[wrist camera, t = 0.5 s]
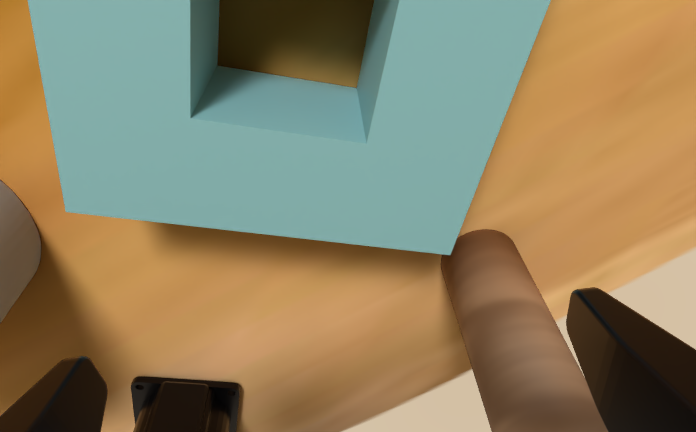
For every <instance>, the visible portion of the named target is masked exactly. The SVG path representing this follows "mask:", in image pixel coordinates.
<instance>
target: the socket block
mask: <svg viewBox="0 0 696 432" xmlns="http://www.w3.org/2000/svg"><path fill="white" fill-rule="evenodd" d="M550 1H551V0H374V4H373V9H372V14H371V19H370V24H369V29H368V34H367V39H366V44H365V49H364V54H363V59H362V64H361V69H360V74H359V79H358V84H357V88H354V87H347V86H341V85H335V84H329V83H323V82H316V81H310V80H304V79H298V78H291V77H285V76H279V75H273V74H267V73H260V72H254V71H248V70H242V69H235V68H229V67H223V66H217V65H218V33H219V0H28V5H29V10H30V16H31V21H32V27H33V32H34V38H35V43H36V49H37V55H38V60H39V66H40V71H41V77H42V82H43V88H44V93H45V99H46V105H47V110H48V116H49V121H50V127H51V132H52V138H53V143H54V149H55V155H56V160H57V166H58V171H59V177H60V182H61V188H62V193H63V199H64V205H65V210H66V212H71V213H80V214H89V215H98V216H107V217H116V218H124V219H133V220H142V221H151V222H160V223H169V224H178V225H187V226H195V227H204V228H213V229H222V230H231V231H240V232H249V233H258V234H266V235H275V236H284V237H293V238H302V239H311V240H320V241H328V242H337V243H346V244H355V245H364V246H373V247H382V248H391V249H399V250H408V251H417V252H426V253H435V254H444V255H451V252H452V250H453V247H454V244H455V242H456V239H457V237H458V234H459V232H460V229H461V227H462V224H463V222H464V219H465V217H466V214H467V211H468V209H469V206H470V204H471V201H472V199H473V196H474V194H475V191H476V189H477V186H478V184H479V181H480V178H481V176H482V173H483V171H484V168H485V166H486V163H487V161H488V158H489V156H490V153H491V151H492V148H493V146H494V143H495V140H496V138H497V135H498V133H499V130H500V128H501V125H502V123H503V120H504V118H505V115H506V113H507V110H508V107H509V105H510V102H511V100H512V97H513V95H514V92H515V90H516V87H517V85H518V82H519V80H520V77H521V74H522V72H523V69H524V67H525V64H526V62H527V59H528V57H529V54H530V52H531V49H532V47H533V44H534V42H535V39H536V36H537V34H538V31H539V29H540V26H541V24H542V21H543V19H544V16H545V14H546V11H547V9H548V6H549V3H550Z"/></svg>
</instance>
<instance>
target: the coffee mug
mask: <svg viewBox="0 0 696 432" xmlns="http://www.w3.org/2000/svg"><path fill="white" fill-rule="evenodd" d="M40 259H41V241H40V236H39V233H38V230H37V228H36V225H35V223H34V221H33V219H32V217H31V215H30V213H29V212H28V210H27V209H26V208H25V206H24V205H23V204H22V202H21V201H20V200H19V198H18V197H17V196H16V195H15V193H14V192H13V191H12V190H11V189H10V188H9V187H8V186H7V185H6V184H4V183H3V182H2V181H1V180H0V323H1V322H2V320H3V319H4V317H5V316H6V315H7V313H8V312H9V310H10V309H11V307H12V306H13V305H14V303H15V302H16V300H17V299H18V297H19V296H20V295H21V293H22V292H23V290H24V289H25V287H26V286H27V285H28V283H29V282H30V280H31V279H32V277H33V276H34V274H35V273H36V271H37V269H38V266H39V263H40Z"/></svg>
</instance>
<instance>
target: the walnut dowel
mask: <svg viewBox="0 0 696 432" xmlns="http://www.w3.org/2000/svg"><path fill="white" fill-rule="evenodd" d="M441 269H442V272H443V276H444V279H445V282H446V285H447V289H448V292H449V295H450V298H451V301H452V305H453V308H454V311H455V314H456V318H457V321H458V324H459V327H460V330H461V334H462V337H463V340H464V343H465V347H466V350H467V353H468V356H469V359H470V363H471V366H472V369H473V372H474V376H475V379H476V382H477V385H478V388H479V392H480V395H481V398H482V401H483V405H484V407H485V411H486V414H487V417H488V420H489V424H490V427H491V430H492V432H608V430H607V428H606V426H605V424H604V422H603V420H602V418H601V416H600V414H599V412H598V410H597V407H596V405H595V402H594V400H593V398H592V395H591V392H590V390H589V387H588V384H587V382H586V379H585V378H584V376H583V374H582V372H581V370H580V368H579V366H578V364H577V362H576V360H575V359H574V357H573V355H572V353H571V351H570V349H569V347H568V345H567V343H566V341H565V340H564V338H563V336H562V334H561V332H560V330H559V328H558V326H557V324H556V322H555V320H554V319H553V317H552V315H551V313H550V311H549V309H548V307H547V305H546V303H545V301H544V300H543V298H542V296H541V294H540V292H539V290H538V288H537V286H536V284H535V282H534V281H533V279H532V277H531V275H530V273H529V271H528V269H527V267H526V265H525V263H524V262H523V260H522V258H521V256H520V254H519V252H518V250H517V248H516V246H515V244H514V242H513V241H512V240H511V239H510V238H509V237H508V236H507V235H505V234H504V233H502V232H499V231H495V230H476V231H472V232H469V233H466V234H464V235H462V236H460V237H459V238H457V239H456V242H455V244H454V247H453V250H452V252H451V255H444V254H443V256H442V259H441Z"/></svg>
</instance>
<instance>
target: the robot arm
mask: <svg viewBox="0 0 696 432" xmlns="http://www.w3.org/2000/svg"><path fill="white" fill-rule="evenodd" d="M566 326H567V331H568V334H569V337H570V340H571V342H572V345H573V348H574V350H575V353H576V356H577V358H578V361H579V363H580V366H581V369H582V371H583V374H584V376H585V379H586V382H587V384H588V387H589V390H590V392H591V395H592V398H593V400H594V402H595V405H596V407H597V410H598V412H599V414H600V416H601V418H602V420H603V422H604V424H605V426H606V428H607V430H608V432H696V350H695V349H694V348H692V347H690V346H689V345H688V344H686V343H684V342H683V341H681V340H680V339H678V338H677V337H675V336H673V335H672V334H670V333H669V332H667V331H665V330H664V329H662V328H661V327H659V326H658V325H656V324H654V323H653V322H651V321H650V320H648V319H646V318H645V317H643V316H642V315H640V314H639V313H637V312H635V311H634V310H632V309H631V308H629V307H627V306H626V305H624V304H623V303H621V302H619V301H618V300H616V299H615V298H613V297H612V296H610V295H609V294H607V293H605V292H604V291H602V290H601V289H598V288H595V287H592V288H584V289H577V290H574V291H573V292H572V294H571V297H570V303H569V308H568V314H567V319H566ZM131 391H132V400H133V408H134V417H135V428H134V431H133V432H236V429H237V419H238V408H239V397H240V386H239V385H238V384H236V383H228V382H213V381H198V380H184V379H169V378H154V377H136V378H134V379H133V382H132V385H131ZM106 399H107V385H106V382H105V380H104V379H103V377H102V376H101V374H100V373H99V371H98V370H97V368H96V367H95V365H94V364H93V362H92V361H91V359H90V358H88V357H86V356H80V357H73V358H67V359H64V360H62V361H61V362H59V363H58V364H57V365H56V366H55V367H54V368H53V369H52V370H50V371H49V372H48V373H47V374H46V375H45V376H44V377H43V378H42V379H41V380H39V381H38V382H37V383H36V384H35V385H34V386H33V387H32V388H31V389H30V390H28V391H27V392H26V393H25V394H24V395H23V396H22V397H21V398H20V399H19V400H17V401H16V402H15V403H14V404H13V405H12V406H11V407H10V408H9V409H8V410H6V411H5V412H4V413H3V414H2V415H1V416H0V432H101V426H102V421H103V416H104V410H105V405H106Z"/></svg>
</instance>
